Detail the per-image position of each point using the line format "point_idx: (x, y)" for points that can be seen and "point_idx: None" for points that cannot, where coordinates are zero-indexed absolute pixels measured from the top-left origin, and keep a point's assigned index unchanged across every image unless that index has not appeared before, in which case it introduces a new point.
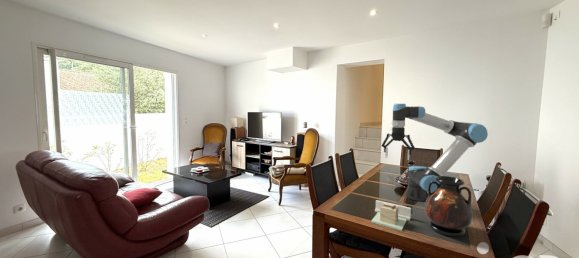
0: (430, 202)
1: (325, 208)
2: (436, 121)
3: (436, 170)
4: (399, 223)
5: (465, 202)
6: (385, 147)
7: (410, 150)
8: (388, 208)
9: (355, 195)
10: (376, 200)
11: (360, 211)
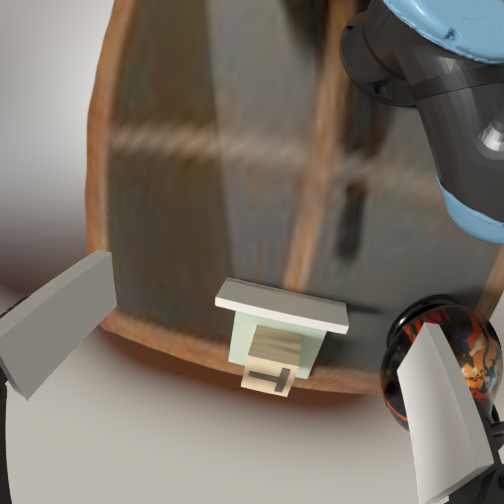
0: (392, 414)
1: None
2: None
3: None
4: (304, 356)
5: None
6: (3, 392)
7: (463, 488)
8: (265, 389)
9: (128, 163)
10: (216, 300)
11: (184, 304)
